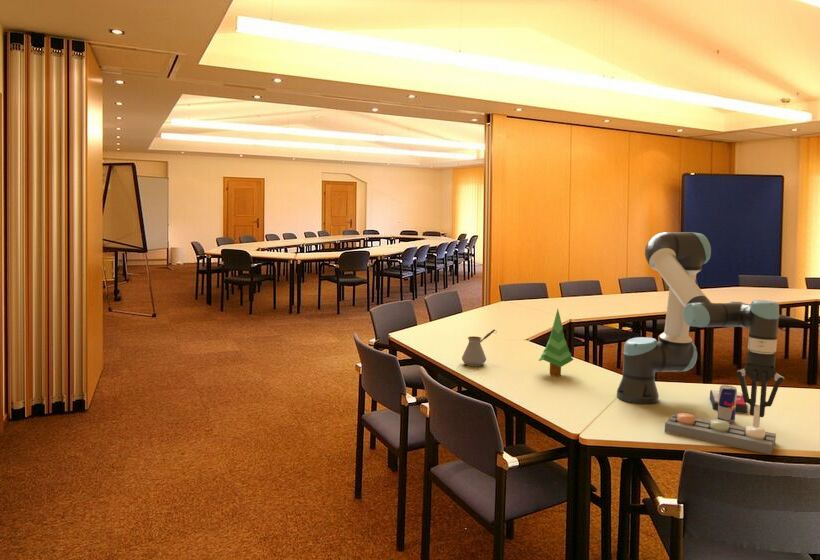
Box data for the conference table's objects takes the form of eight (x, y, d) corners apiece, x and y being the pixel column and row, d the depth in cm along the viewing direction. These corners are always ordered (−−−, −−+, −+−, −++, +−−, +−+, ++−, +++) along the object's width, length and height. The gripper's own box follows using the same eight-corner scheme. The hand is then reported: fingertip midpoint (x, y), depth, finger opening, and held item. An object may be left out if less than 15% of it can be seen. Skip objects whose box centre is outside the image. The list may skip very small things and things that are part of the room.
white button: (744, 438, 185) (744, 429, 185) (746, 434, 189) (747, 425, 189) (763, 443, 182) (764, 433, 182) (765, 438, 186) (766, 428, 186)
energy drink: (727, 424, 204) (729, 390, 203) (713, 419, 209) (716, 385, 208) (738, 422, 206) (740, 388, 205) (724, 417, 211) (726, 384, 210)
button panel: (664, 431, 196) (665, 422, 196) (673, 422, 205) (674, 413, 205) (770, 454, 178) (771, 445, 178) (775, 442, 188) (776, 433, 187)
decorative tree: (565, 370, 273) (567, 305, 270) (575, 379, 257) (578, 311, 254) (535, 370, 272) (538, 305, 269) (544, 379, 257) (547, 310, 254)
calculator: (713, 400, 219) (710, 388, 233) (713, 412, 220) (709, 398, 234) (747, 404, 215) (742, 391, 229) (746, 416, 216) (741, 402, 230)
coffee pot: (475, 368, 273) (476, 336, 272) (456, 364, 282) (457, 332, 280) (503, 361, 288) (504, 330, 287) (485, 357, 296) (486, 327, 295)
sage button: (708, 431, 191) (709, 422, 191) (711, 427, 195) (712, 418, 195) (726, 435, 188) (727, 426, 188) (729, 430, 192) (730, 421, 192)
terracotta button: (675, 424, 197) (675, 415, 197) (679, 420, 201) (679, 411, 201) (692, 428, 194) (692, 419, 194) (695, 423, 198) (696, 415, 198)
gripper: (735, 350, 183) (730, 425, 186) (785, 356, 176) (779, 434, 178) (739, 346, 189) (734, 418, 192) (788, 352, 182) (782, 427, 184)
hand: (756, 426), depth 185 cm, fingers closed
